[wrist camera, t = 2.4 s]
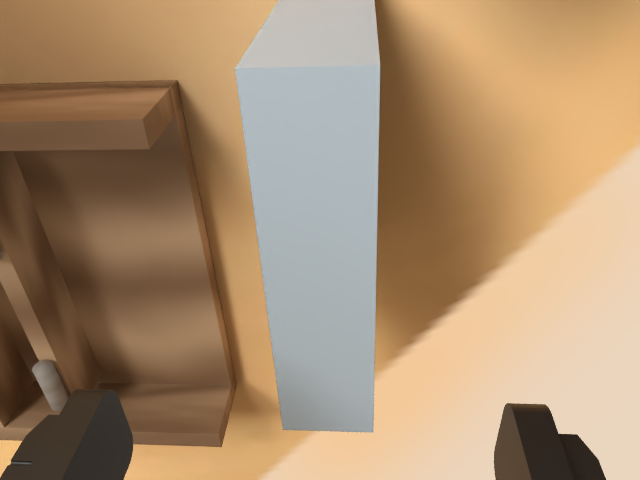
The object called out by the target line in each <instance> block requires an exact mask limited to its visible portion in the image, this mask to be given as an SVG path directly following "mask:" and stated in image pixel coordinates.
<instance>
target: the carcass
mask: <svg viewBox="0 0 640 480" xmlns="http://www.w3.org/2000/svg"><path fill="white" fill-rule="evenodd" d="M236 386H237V385H236V380H235V375H234V370H233V365H232V360H231V355H230V350H229V344H228V339H227V334H226V329H225V324H224V319H223V314H222V309H221V303H220V298H219V293H218V288H217V283H216V278H215V273H214V268H213V263H212V257H211V252H210V247H209V242H208V237H207V232H206V227H205V222H204V216H203V211H202V206H201V201H200V196H199V191H198V186H197V181H196V176H195V170H194V165H193V160H192V155H191V150H190V145H189V140H188V135H187V129H186V124H185V119H184V114H183V109H182V104H181V99H180V94H179V89H178V83H177V80H168V81H124V82H81V83H37V84H0V440H19V441H23V440H24V438H25V436H26V435H27V434H28V433H29V432H30V431H31V430H33V429H34V428H35V427H36V426H37V425H38V424H39V423H40V422H41V421H42V420H43V419H44V418H45V417H46V416H47V415H59V414H60V412H61V411H62V409H63V407H64V405H65V404H66V402H67V400H68V398H69V397H70V395H71V394H72V393H73V392H74V391H75V390H77V389H102V390H114V391H116V393H117V395H118V397H119V400H120V402H121V405H122V408H123V410H124V413H125V416H126V418H127V421H128V424H129V426H130V429H131V432H132V435H133V444H145V445H177V446H208V447H222V443H223V439H224V435H225V431H226V427H227V423H228V419H229V415H230V411H231V407H232V403H233V398H234V394H235V390H236Z"/></svg>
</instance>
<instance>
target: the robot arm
mask: <svg viewBox="0 0 640 480" xmlns="http://www.w3.org/2000/svg"><path fill="white" fill-rule="evenodd" d="M132 451H133V435H132V432H131V429H130V426H129V424H128V421H127V418H126V416H125V413H124V410H123V408H122V405H121V402H120V400H119V397H118V395H117V393H116V391H114V390H102V389H77V390H75V391H74V392H73V393H72V394H71V395H70V397H69V398H68V400H67V402H66V404H65V405H64V407H63V409H62V411H61V412H60V414H59V415H47V416H46V417H45V418H44V419H43V420H42V421H41V422H40V423H39V424H38V425H37V426H36V427H35V428H34V429H33V430H31V431H30V432H29V433H28V434H27V435H26V436H25V438H24V440H23V441H22V443H21V445H20V446H19V448H18V450H17V451H16V453H15V454H14V456H13V458H12V459H11V464H10V465H8V466H7V468H6V469H5V471H4V473H3V474H2V476H1V478H0V480H123V479H124V476H125V474H126V471H127V469H128V467H129V464H130V461H131V457H132ZM494 468H495V477H496V480H606V478H605V476H604V473H603V471H602V468H601V466H600V463H599V460H598V459H597V458H596V456H595V455H594V454H593V453H592V452H591V450H590V449H589V448H588V447H587V446H586V445H585V443H584V442H583V441H582V440H581V439H580V438H579V436H578V435H572V434H558V431H557V429H556V426H555V423H554V420H553V417H552V414H551V411H550V410H549V408H548V407H547V406H546V405H542V404H510V403H507V404H506V405H505V407H504V411H503V415H502V420H501V424H500V428H499V433H498V437H497V442H496V446H495V452H494Z"/></svg>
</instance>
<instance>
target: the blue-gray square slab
mask: <svg viewBox="0 0 640 480" xmlns="http://www.w3.org/2000/svg"><path fill="white" fill-rule="evenodd" d="M235 72H236V79H237V87H238V94H239V102H240V109H241V117H242V124H243V132H244V140H245V147H246V155H247V162H248V170H249V177H250V185H251V193H252V200H253V208H254V215H255V223H256V230H257V238H258V245H259V253H260V261H261V268H262V276H263V283H264V291H265V298H266V306H267V314H268V321H269V329H270V336H271V344H272V351H273V359H274V366H275V374H276V382H277V389H278V397H279V404H280V412H281V419H282V427H283V430H307V431H341V432H344V431H345V432H373V420H374V368H375V315H376V263H377V211H378V158H379V106H380V56H379V45H378V34H377V22H376V11H375V0H279V1H278V2H277V4H276V5H275V7H274V9H273V10H272V12H271V13H270V15H269V16H268V18H267V19H266V21H265V23H264V24H263V26H262V27H261V29H260V30H259V32H258V34H257V35H256V37H255V38H254V40H253V41H252V43H251V44H250V46H249V48H248V49H247V51H246V52H245V54H244V55H243V57H242V59H241V60H240V62H239V63H238V65H237V66H236V68H235Z"/></svg>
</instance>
